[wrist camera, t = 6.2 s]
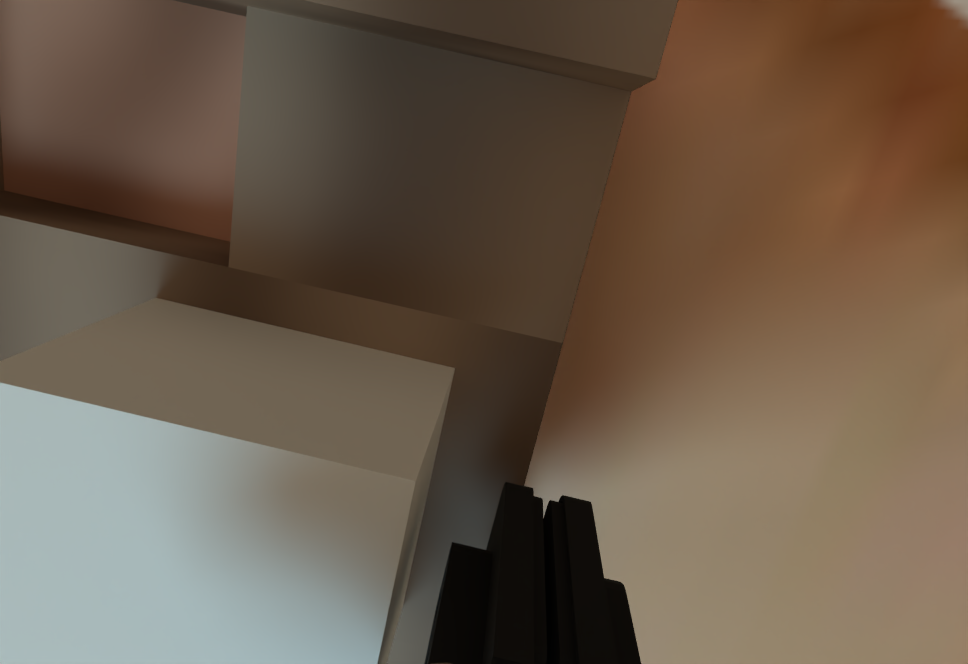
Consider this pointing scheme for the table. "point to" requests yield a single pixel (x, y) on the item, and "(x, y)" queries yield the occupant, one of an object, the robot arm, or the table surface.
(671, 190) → the table surface
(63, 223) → the box
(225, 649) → the pale blue block
